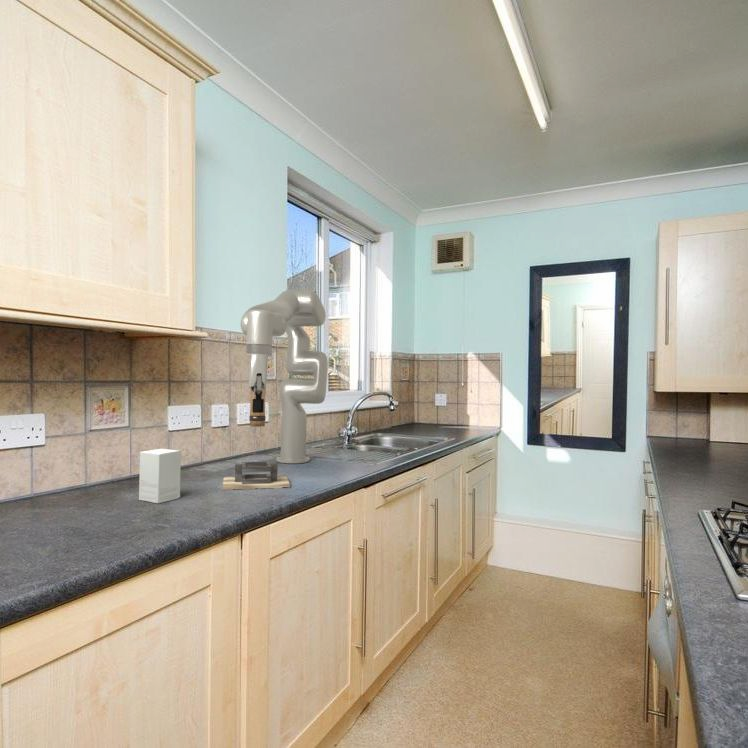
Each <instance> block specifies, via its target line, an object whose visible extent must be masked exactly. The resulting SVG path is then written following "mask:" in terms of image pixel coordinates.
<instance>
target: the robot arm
mask: <svg viewBox="0 0 748 748" xmlns="http://www.w3.org/2000/svg"><path fill="white" fill-rule="evenodd" d="M325 322H326V310H325V307H324V304H323V303H322V301H321V299H320V297H319V295H318V294H317V293H316V292H315V291H314V290H312V289H287V290H284V291H282V292H281V293H280V294H279V295H278V296H277V297H276V298H275V299H274V300H271V301H266V302H263V303H260V304H256V305H254V306H251V307H249V308H248V309H247V310H246V311H245V312H244V313H243V315H241V319H240V330H241V331H242V333H243V334H244V335H245V336H246V349H245V350H246V353H245V354H246V356H247V357H249V360H248V361H249V362H248V363H249V364H248V388H249V389H250V390H251V386H252V387H253V386H254V399H253V408H252V412H253V413H263V412H264V399H263V389H265V388H266V389H267V387H266V386H267V380H268V379H267V378H268V367H269V366H268V363H269V362H268V361H269V359H268V357H272V356H273V337H281V336H283V335H284V334H285V333H286V335H287V349H286V363H285V365H286V367H285V368H286V372H288V374H290V375H292V376H308V377H309V376H313V378H304V377H302V378H301V377H289V378H285V379H283V380H282V381H281V383H280V386H279V394H280V395H279V396H280V403H281V421H280V422H281V425H280V426H281V427H280V433H281V434H280V456H277V457H275V458H276V459H275V460H276V462H277V463H282V464H303V463H304V464H305V463H309V462H310V459H311V458H310V457H309V456H306V455H307V453H306V452H307V422H308V421H307V420H308V419H307V418H308V417H307V412H306V410H305V408H304V407H303V406H302V404H307V405H309V404H311V405H312V404H313V405H315V404H316V405H317V404H323V402H324V401H325V399H326V397H327V396H326V395H327V385H328V384H327V383H328V382H327V381H328V380H327V379H328V369H329V368H328V367H329V366H328V365H329V362H328V361H329V360H328V357H327V355H326V353H325V352H323V351H320V350H319V351H318V350H310V347H311V338H310V336H309V334H308V333H307V332H306V330H305V329H304V328H303V327H321V326H323V325H324V324H325ZM255 386H257V388H255ZM261 386H262V388H261ZM263 387H264V388H263ZM255 398H256V399H255Z"/></svg>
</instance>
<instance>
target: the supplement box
mask: <svg viewBox="0 0 748 748" xmlns="http://www.w3.org/2000/svg"><path fill="white" fill-rule="evenodd" d="M181 456H182V451H181V450H177V449H169V448H168V449H167V448H155V449H151V450H150V449H149V450H144V451H139V473H138V474H139V478H138V479H139V482H138V483H139V484H138V485H139V486H138V500H139V501H142V502H143V501H144V502H148V503H154V504H162V503H166V502H170V501H174V500H176V499H177V500H178V499H180V498H181V461H182V460H181V459H182V457H181Z"/></svg>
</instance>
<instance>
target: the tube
mask: <svg viewBox="0 0 748 748" xmlns="http://www.w3.org/2000/svg"><path fill="white" fill-rule="evenodd" d="M255 388H257V386H255ZM261 388H262V386H261ZM263 388H264V387H263ZM266 391H267V387H266V388H265V389H263V399H264V412H263V413H253V412H252V408H253V399H254V386H253V387H252V386H251V389H250V402H249V403H250V404H249V405H250V407H249V410H250V411H249V416H248V417H249V426H250V427H257V428H258V427H265V424H266V393H267V392H266ZM255 399H256V398H255Z"/></svg>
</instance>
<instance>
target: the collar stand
mask: <svg viewBox="0 0 748 748" xmlns="http://www.w3.org/2000/svg"><path fill="white" fill-rule="evenodd" d="M278 465H279V464H278V462H277V463H276V462H275V463H274V462H273V463H272V462H271V461H242V462H241V463H235V464H234V468H235V469H234V476H225V477H223V481H222V491H234V490H233V489H245V490H256V489H255V488H274V489H283V488H282V487H290V488H291V484H290V481H289V479H288V477H287V475H278V473H279V472H278V469H279V466H278ZM264 472H265V473H264ZM266 472H267V473H266ZM268 472H269V473H268ZM244 473H245V474H244ZM247 473H248V474H247Z"/></svg>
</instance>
